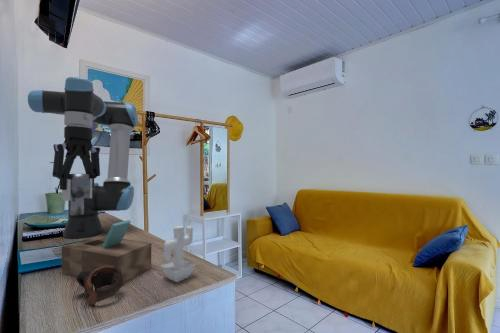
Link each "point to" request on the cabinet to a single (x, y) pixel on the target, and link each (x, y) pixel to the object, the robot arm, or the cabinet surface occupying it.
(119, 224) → the latch
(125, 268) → the block
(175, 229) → the figurine
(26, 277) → the cabinet surface
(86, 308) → the cabinet surface
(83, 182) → the pin
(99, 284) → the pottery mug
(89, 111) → the robot arm
